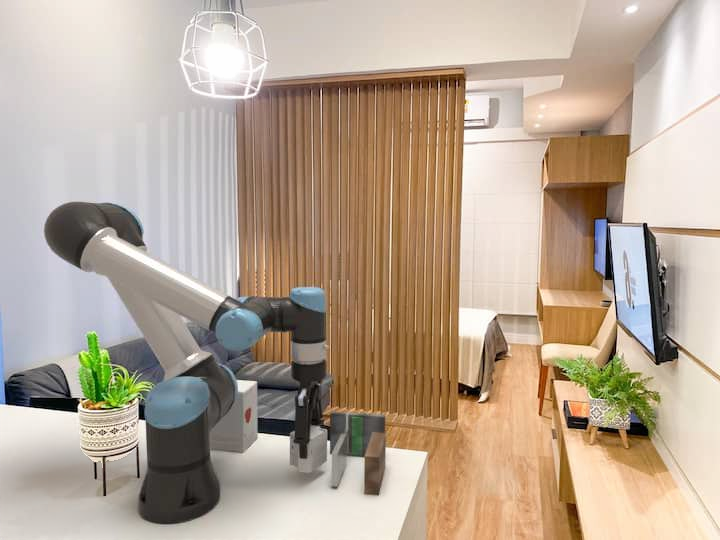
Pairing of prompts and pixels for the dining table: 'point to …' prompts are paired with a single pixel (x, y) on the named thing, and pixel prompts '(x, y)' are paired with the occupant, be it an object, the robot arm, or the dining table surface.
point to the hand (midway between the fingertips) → (309, 462)
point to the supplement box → (238, 421)
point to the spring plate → (339, 455)
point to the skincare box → (317, 448)
